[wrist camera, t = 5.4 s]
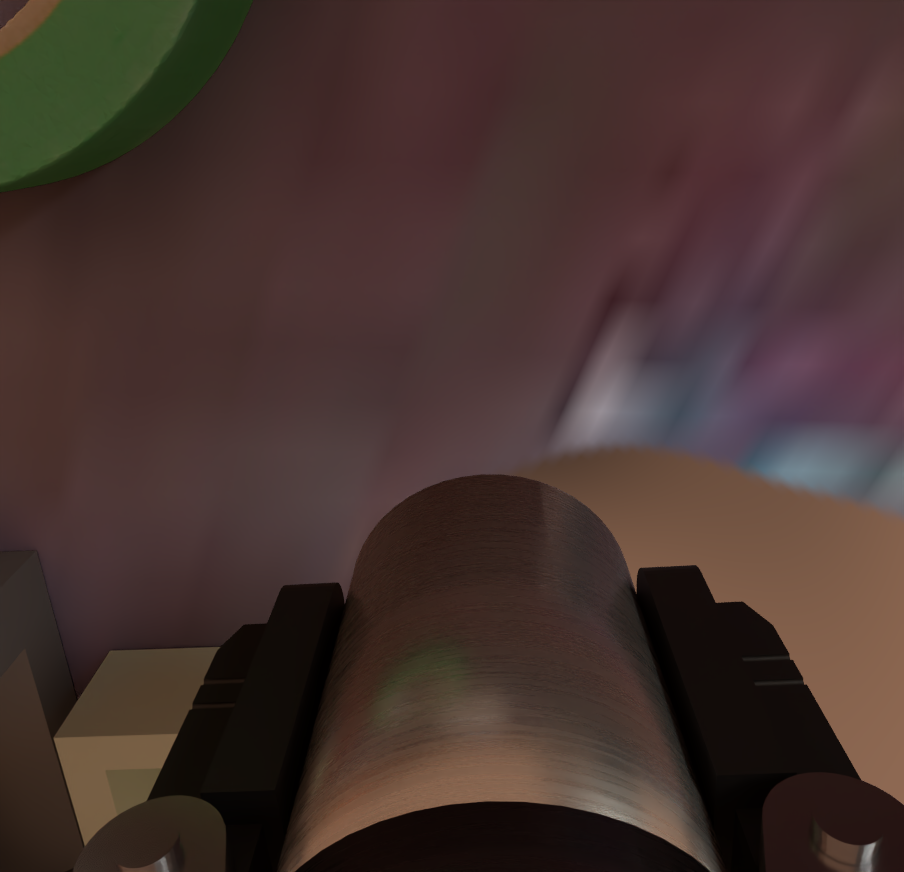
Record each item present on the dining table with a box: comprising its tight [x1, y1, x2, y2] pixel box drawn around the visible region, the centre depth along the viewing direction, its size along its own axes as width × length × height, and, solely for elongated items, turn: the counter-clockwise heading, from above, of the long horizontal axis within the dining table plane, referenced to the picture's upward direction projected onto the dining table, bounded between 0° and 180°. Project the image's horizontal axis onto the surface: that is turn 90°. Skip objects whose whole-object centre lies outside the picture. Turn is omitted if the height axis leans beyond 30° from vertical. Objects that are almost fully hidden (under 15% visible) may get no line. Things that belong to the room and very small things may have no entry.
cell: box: [276, 475, 728, 872], centre depth 8 cm, size 4×4×8 cm
